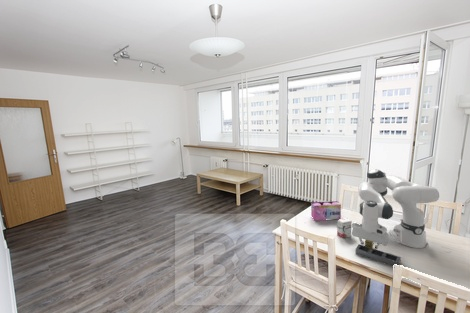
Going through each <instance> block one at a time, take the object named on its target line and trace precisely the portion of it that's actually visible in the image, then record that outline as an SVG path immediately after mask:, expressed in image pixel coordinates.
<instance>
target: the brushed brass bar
mask: <svg viewBox="0 0 470 313" xmlns="http://www.w3.org/2000/svg"><path fill="white" fill-rule="evenodd" d="M374 245H375V242H372V241H368V240H365V239H364V246H367V247H370V248H373V249H374Z"/></svg>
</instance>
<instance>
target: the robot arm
mask: <svg viewBox="0 0 470 313" xmlns="http://www.w3.org/2000/svg"><path fill="white" fill-rule="evenodd" d="M386 174H387V173H386V172H383V171H381V170H379V169H377V168H376V169H374V168H373V169H371V170H369V171H367V173H366V177H367V181H363V182H361V183H359V186H358V191H357V192H358V196H359V198H360V199H361V200H362V202H361V203H360V204H359V214H360V215H361V216H362V220H361V223H358V222H353V223H352V225H351V236H352V237H354V238H358V240H359V241H360V245H363V246H365V240H368V241H372V242H374V249H376V250H379V249H378V248H379V246H380V245H383V246H388V245H389V242H390V241H389V240H390V238H389V234H388V232H387V231H388V228H387V227H385V226H383V225H382V224H380V223H379V219H384V220H389V219H391V218H392V217H393V215H394V209H393V206H392V205H391V204H390V203H388V201H387V200H386V197H384V196H386V195H387V194H388V189H389V190H391V191H392V192H391V196H392V199H394V201H395V202H397V203H398V204H399V205H400V207H401V208H402V218H401V219H400V223H399V224H396V225H395V226H394V228H393V229H392V230H389V233H390V235H391V236H392V238H393V240H394V241H395V242H396V243H398V244H400V245H401V244H402V245H404V246H407V247H411V248H415V249H424V248H425V247H426V246H427V245H428V241H427V234H426V231H425V228H426V226H425V215H426V214H425V213H424V211H423V210H422V209H421V208H419V207H417V204H430V203H435V202H438V201H439V198H440V192H439V190H438V189H437V188H436V187H434V186H429V185H424V184H421V183H420V184H419V183H418V182H417V183H416V182H412V181H408V180H406V179H405V178H402V177H399V176H397V175H393V174H391V175H386ZM363 240H364V241H363ZM375 243H376V244H375Z"/></svg>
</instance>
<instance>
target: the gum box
mask: <svg viewBox="0 0 470 313" xmlns="http://www.w3.org/2000/svg"><path fill="white" fill-rule="evenodd" d="M310 204H311V206H310V207H311V209H310V210H311V213H310V215H311V216H312V217H313V218H312V217H311V218H312V220H313V219H314V220H315V221H327V220H326V219H342V218H341V217H342V211H341V210H342V205H341V203H339V201H337V200H336V201H332V200H331V201H317V202H316V201H315V202H311V203H310ZM314 220H313V221H314Z"/></svg>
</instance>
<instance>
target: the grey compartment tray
mask: <svg viewBox="0 0 470 313" xmlns="http://www.w3.org/2000/svg"><path fill="white" fill-rule="evenodd" d="M355 255H357V256H360V257H364V258H366V259H369V260H372V261H376V262H378V263H380V264H384V265H387V266H390V267H392V266H393V265H394V264H397V265H399V266H400V265H401V261H402V260H401V258H402V257H401V256H399V255H396V254H392V253H389V252H385V251H382V250H379V249H375V248H374V247H373V248H370V247H367V246H365V245H362V244H361V243H358V245H357V246H356V248H355Z"/></svg>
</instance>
